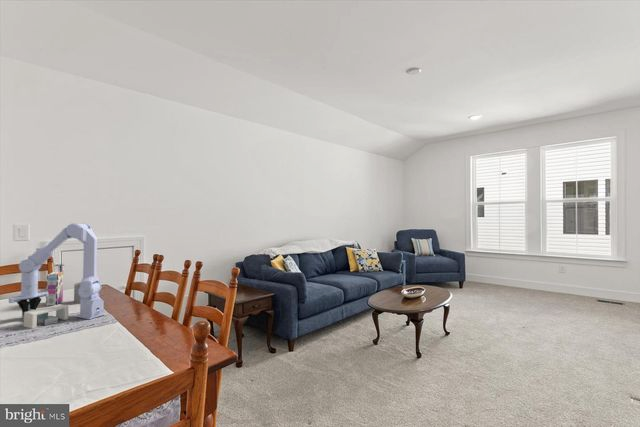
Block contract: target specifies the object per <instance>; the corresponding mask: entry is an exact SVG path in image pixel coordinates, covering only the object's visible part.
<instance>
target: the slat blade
mask: <svg viewBox="0 0 640 427" xmlns="http://www.w3.org/2000/svg"><path fill="white" fill-rule="evenodd" d="M32 310H34V309H30V307H29V308H28V311H32ZM21 315H22V316H21V317H22V319H24V316H23V312H22V311H21ZM47 316H49V312H47V313H43V314H39V315H37V322H38V319H39V318H43V317H47Z"/></svg>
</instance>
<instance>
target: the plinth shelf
mask: <svg viewBox="0 0 640 427" xmlns="http://www.w3.org/2000/svg"><path fill="white" fill-rule="evenodd" d="M47 312H48V313H51V312H55V316H56V317H58V320H59V319H60V320H69V305H66V304H60V303H59V304H58V305H54V306H45V307H42V308H36V310H32V311H27V312H24V318H23V327H25V328H29V329H34V328H35V329H36V328H37V327H38V326H37V325H38V321H37V315H39V314H43V313H47Z"/></svg>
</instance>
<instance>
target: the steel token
mask: <svg viewBox="0 0 640 427" xmlns="http://www.w3.org/2000/svg"><path fill="white" fill-rule="evenodd" d="M58 322H59V319H58V317H56V315H48V316H47V317H43V318H39V319H38V321H37V325H41V326H42V325H43V326H47V325H52V324H55V323H58Z"/></svg>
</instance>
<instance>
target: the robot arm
mask: <svg viewBox="0 0 640 427" xmlns="http://www.w3.org/2000/svg"><path fill="white" fill-rule="evenodd" d="M69 239H76V240H78V241H79V242H80V243H82V244H83V260H82V261H83V267H82V268H83V270H82V279H81V281H80V282H81V285H80V288H79V289H78V294H79V296H80V297H81V300H80V305H79V306H80V309H79V314H76V315H75V317H76V318H80V319H86V320H91V319H95V318H98V317H102V316H105V315H106V313H105V309H104V308H105V306H104V305H105V302H104V300H103V298H101V297H100V294H99V292H101V290H102V284H101V283H100V278H99V277H98V238H97V236H96V234H95V232H94V231H93V229H92V226H90V225H88V224H87V223H86V222H85V223H84V222H80V223H70V224H68V225H67V226H66V227H64V228H63V229H62V230H61V231H60V232H59V233H58V234H57V235H56V236H55V237H54V238H53V239H52V240H51V241H50V242H49V243H48V244H47V245H45V246H43V245H42V246H40V247H37V248H36V249H35V250H36V251H35V252H33V254H31V255H28V256H27V258H26V259H23V260H21V261H20V262H19V264H18V269H19V271H20V272H21V280H20V281H21V287H20V288H21V289H20V295H18V296H14V297H9V298H8V303H9V304H13V303H17V305H18V306H19V307H20V310H21V313H22V312H23V316H24V312H27V311H28V308H29V309H34V310H36V309H38V306H39V304H40V302H42V298H44V297H46V296H48V293H49V292H46V291H42V292H38V291H39V270H40V269H41V268H42V265H43V264H45V262H46V261H48V259H49V258H51V257H52V256H53V255H54V251H55V250H56V249H57V248H59V247H60V246H61V245H62V244H63V243H64V242H65V241H67V240H69Z"/></svg>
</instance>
